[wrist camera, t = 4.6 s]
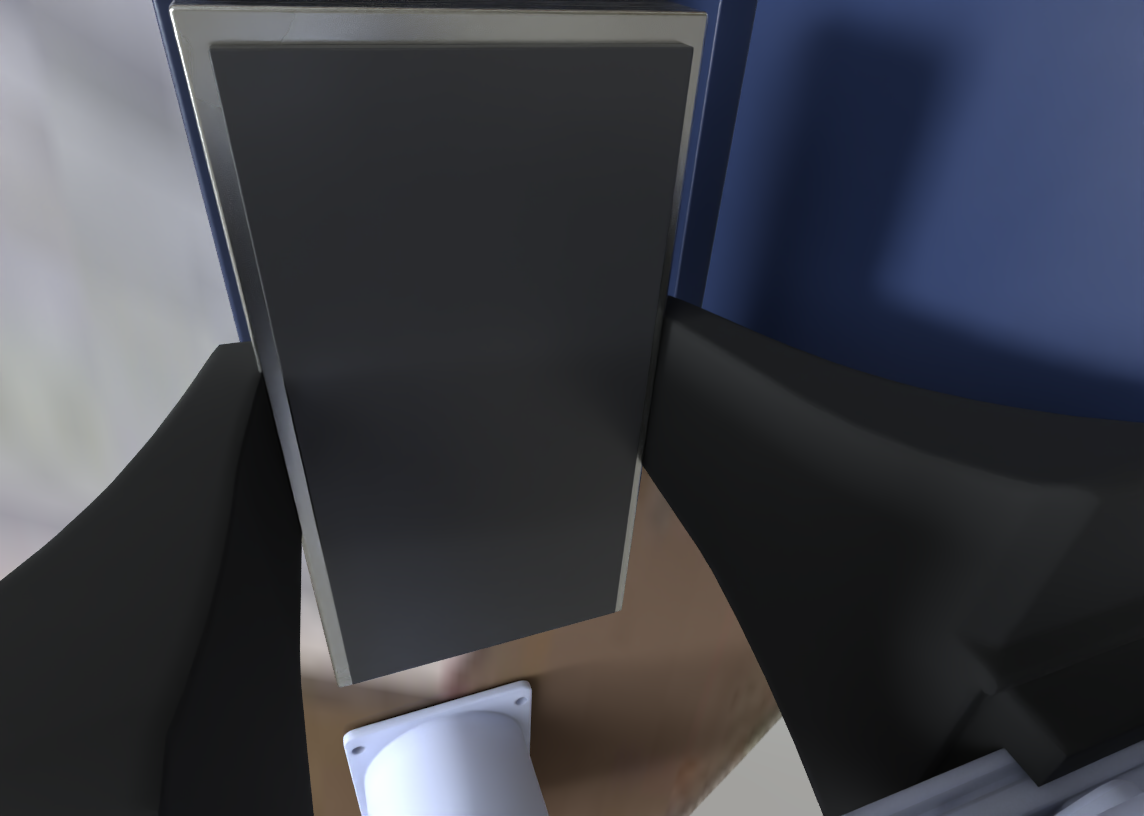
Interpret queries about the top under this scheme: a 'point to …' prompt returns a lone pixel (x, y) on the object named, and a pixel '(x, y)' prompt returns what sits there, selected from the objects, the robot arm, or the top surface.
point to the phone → (451, 292)
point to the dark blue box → (706, 165)
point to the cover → (945, 196)
